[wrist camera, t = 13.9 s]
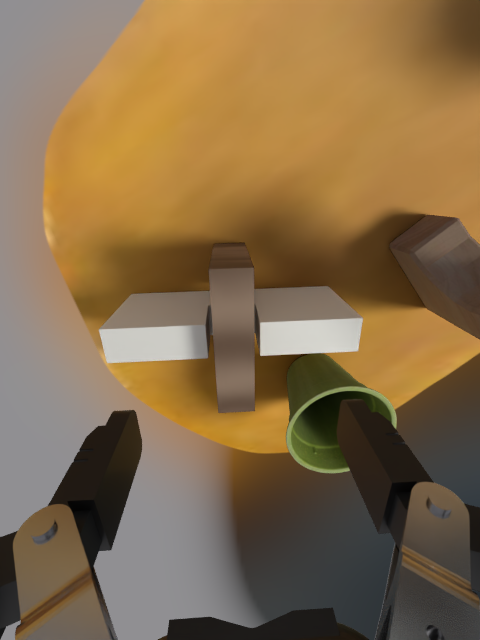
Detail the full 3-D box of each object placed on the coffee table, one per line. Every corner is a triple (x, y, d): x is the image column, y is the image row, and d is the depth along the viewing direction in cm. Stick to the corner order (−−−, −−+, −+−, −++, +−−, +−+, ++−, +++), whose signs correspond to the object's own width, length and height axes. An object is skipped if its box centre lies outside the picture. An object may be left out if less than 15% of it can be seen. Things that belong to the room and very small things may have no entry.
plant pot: (347, 405, 44) (385, 471, 34) (268, 408, 43) (282, 475, 33) (361, 335, 39) (409, 386, 29) (272, 336, 39) (290, 389, 28)
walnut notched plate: (213, 243, 34) (208, 269, 23) (244, 242, 34) (253, 267, 23) (220, 350, 39) (218, 412, 28) (246, 349, 39) (254, 411, 28)
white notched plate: (131, 293, 35) (98, 329, 26) (328, 286, 36) (363, 318, 27) (136, 320, 37) (107, 363, 28) (325, 312, 38) (357, 351, 29)
